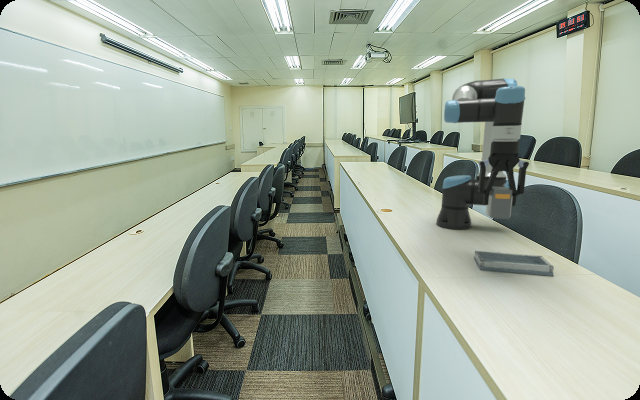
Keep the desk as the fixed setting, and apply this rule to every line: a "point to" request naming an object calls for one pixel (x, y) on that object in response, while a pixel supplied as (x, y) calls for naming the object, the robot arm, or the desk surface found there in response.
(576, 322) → the desk surface
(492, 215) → the block
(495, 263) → the shallow grey tray
